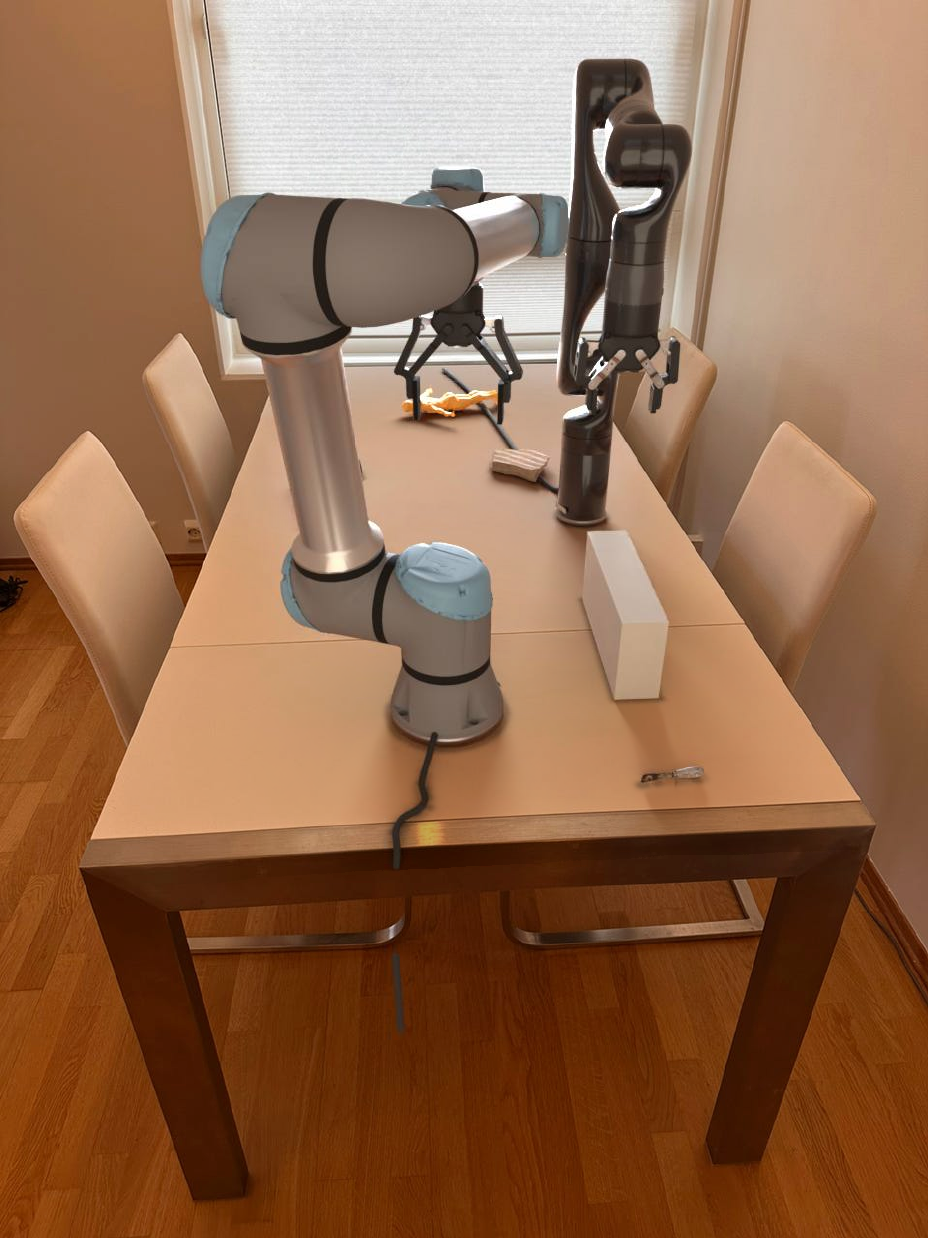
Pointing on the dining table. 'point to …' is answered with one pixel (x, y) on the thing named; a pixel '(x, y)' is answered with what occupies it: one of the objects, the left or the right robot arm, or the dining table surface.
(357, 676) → the dining table surface
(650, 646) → the box
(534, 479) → the stone
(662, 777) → the putty knife
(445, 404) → the human figure
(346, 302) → the left robot arm
